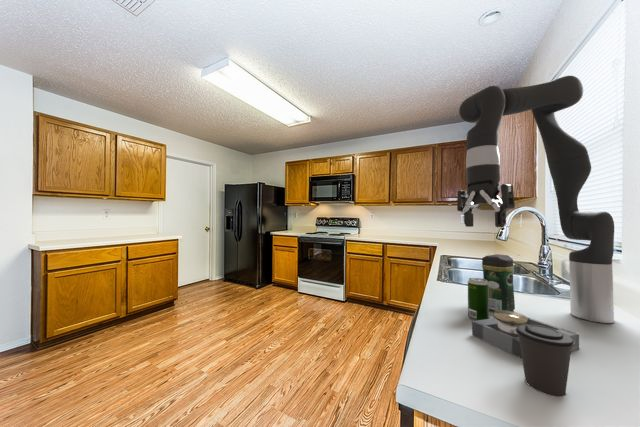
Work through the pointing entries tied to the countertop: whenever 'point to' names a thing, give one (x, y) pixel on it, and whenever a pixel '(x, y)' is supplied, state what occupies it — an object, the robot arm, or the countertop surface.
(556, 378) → the coffee cup
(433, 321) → the countertop surface
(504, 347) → the grey rectangular frame
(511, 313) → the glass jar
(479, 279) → the green metal cylinder
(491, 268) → the coffee jar
